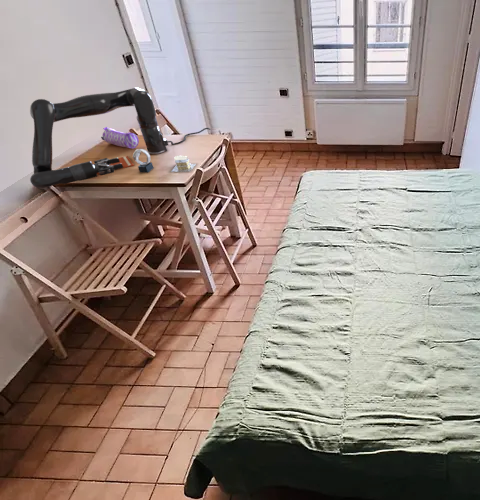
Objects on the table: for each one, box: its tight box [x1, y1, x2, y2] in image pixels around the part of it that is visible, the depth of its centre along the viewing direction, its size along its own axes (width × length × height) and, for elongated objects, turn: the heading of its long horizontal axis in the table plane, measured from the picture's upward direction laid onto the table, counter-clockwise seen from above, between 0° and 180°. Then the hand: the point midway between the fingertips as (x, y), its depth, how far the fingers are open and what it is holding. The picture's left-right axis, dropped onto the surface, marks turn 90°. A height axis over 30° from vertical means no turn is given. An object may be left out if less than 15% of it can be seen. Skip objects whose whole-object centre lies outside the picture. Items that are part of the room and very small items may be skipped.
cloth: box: [97, 155, 135, 175], centre depth 199 cm, size 20×14×1 cm
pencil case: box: [100, 126, 140, 150], centre depth 219 cm, size 22×9×10 cm, turn 63°
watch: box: [132, 148, 154, 174], centre depth 191 cm, size 6×8×11 cm
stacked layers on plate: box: [170, 154, 196, 173], centre depth 195 cm, size 10×9×6 cm
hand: (120, 162), depth 186 cm, fingers open, 8 cm apart
